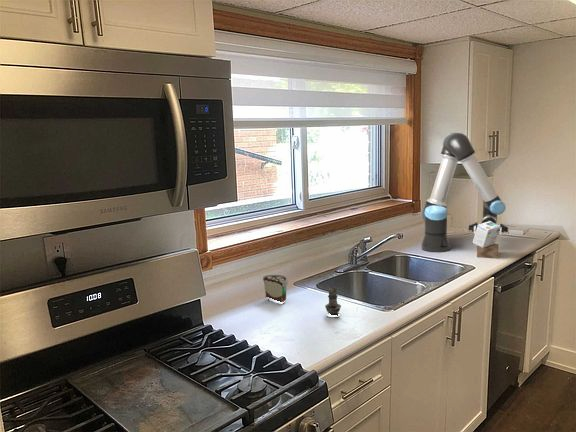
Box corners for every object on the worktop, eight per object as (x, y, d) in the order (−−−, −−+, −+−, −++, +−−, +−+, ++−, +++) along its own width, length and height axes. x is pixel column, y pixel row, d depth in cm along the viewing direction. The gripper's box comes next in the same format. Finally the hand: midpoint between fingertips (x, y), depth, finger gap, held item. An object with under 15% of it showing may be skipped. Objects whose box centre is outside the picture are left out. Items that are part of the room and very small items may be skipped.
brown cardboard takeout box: (476, 257, 241) (477, 247, 240) (477, 252, 250) (478, 242, 249) (498, 258, 237) (498, 248, 236) (498, 253, 246) (498, 243, 245)
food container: (295, 301, 189) (294, 278, 188) (284, 306, 185) (283, 281, 183) (274, 295, 198) (273, 272, 196) (263, 299, 194) (262, 276, 192)
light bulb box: (483, 238, 248) (489, 220, 244) (495, 244, 243) (501, 225, 239) (471, 242, 242) (477, 224, 238) (482, 248, 238) (488, 229, 233)
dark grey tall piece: (335, 311, 178) (334, 280, 176) (344, 316, 173) (343, 285, 170) (322, 314, 175) (321, 283, 173) (331, 319, 170) (330, 288, 168)
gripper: (512, 231, 253) (513, 240, 233) (465, 229, 263) (462, 237, 243) (513, 217, 251) (513, 225, 232) (466, 215, 261) (462, 223, 242)
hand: (487, 231), depth 238 cm, fingers open, 11 cm apart
